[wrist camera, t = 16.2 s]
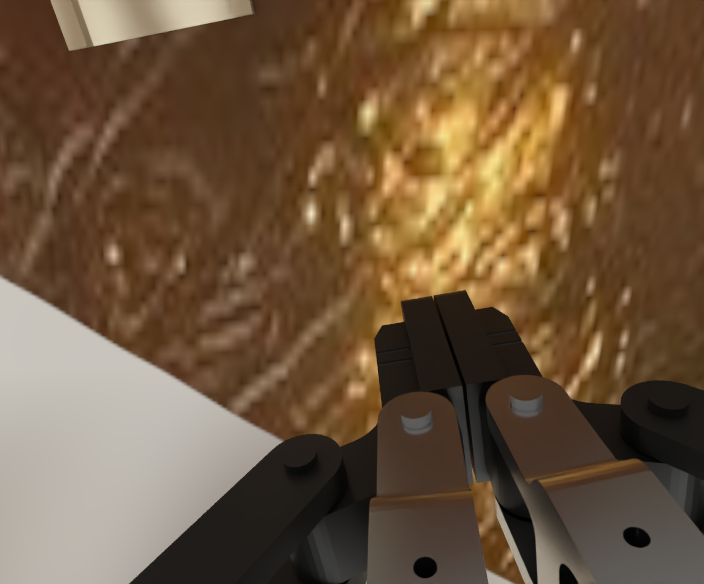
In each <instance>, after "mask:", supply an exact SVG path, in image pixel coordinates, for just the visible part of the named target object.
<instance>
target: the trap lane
mask: <svg viewBox="0 0 704 584" xmlns="http://www.w3.org/2000/svg"><path fill="white" fill-rule="evenodd" d="M51 3H52V5H53V8H54V11H55V14H56V16H57V19H58V22H59V24H60V27H61V30H62V33H63V35H64V38H65V41H66V43H67V46H68V49H69V51H70V50H78V49H83V48H88V47H93V46H98V45H103V44H108V43H113V42H118V41H123V40H127V39H132V38H137V37H142V36H147V35H152V34H157V33H162V32H167V31H172V30H177V29H182V28H187V27H192V26H197V25H202V24H207V23H212V22H217V21H221V20H226V19H231V18H236V17H241V16H246V15H251V14H255V12H254V7H253V3H252V0H51Z"/></svg>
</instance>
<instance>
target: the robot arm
mask: <svg viewBox="0 0 704 584" xmlns="http://www.w3.org/2000/svg"><path fill="white" fill-rule="evenodd" d="M401 307H402V313H403V319H404V322H401V323H395V324H389V325H383V326H382V327H381V328H380V330H379V332H378V334H377V335H376V337H375V339H374V340H375V349H376V357H377V365H378V375H379V384H380V392H381V401H382V409H381V411H380V413H379V415H378V423H377V425H376V426H375V427H374V428H373V429H372V430H371V431H370V432H369V433H368V434H366V435H365V436H363V437H362V438H360V439H358V440H356V441H354V442H351V443H349V444H346V445H344V446H341V447H339V445H338V444H337V443H336V442H335V441H334V440H333V439H331V438H329V437H327V436H323V435H318V434H306V435H300V436H296V437H293V438H290V439H288V440H286V441H284V442H282V443H281V444H279V445H278V446H276V447H275V448H274V449H273V450H272V451H271V452H270V453H268V455H266V456H265V457H264V458H263V459H262V460H261V461H260V462H259V463H258V464H257V465H256V466H255V467H253V468H252V469H251V470H250V471H249V472H248V473H247V474H246V475H245V476H244V477H243V478H242V479H241V480H240V481H238V482H237V483H236V484H235V485H234V486H233V487H232V488H231V489H230V490H229V491H228V492H227V493H226V494H225V495H224V496H222V497H221V498H220V499H219V500H218V501H217V502H216V503H215V504H214V505H213V506H212V507H211V508H210V509H209V510H207V512H206V513H204V514H203V515H202V516H201V517H200V518H199V519H198V520H197V521H196V522H195V523H194V524H193V525H191V526H190V527H189V528H188V529H187V530H186V531H185V532H184V533H183V534H182V535H181V536H180V537H179V538H178V539H177V540H176V541H174V542H173V543H172V544H171V545H170V546H169V547H168V548H167V549H166V550H165V551H164V552H163V553H162V554H160V555H159V556H158V557H157V558H156V559H155V560H154V561H153V562H152V563H151V564H150V565H149V566H148V567H147V568H146V569H144V570H143V571H142V572H141V573H140V574H139V575H138V576H137V577H136V578H135V579H134V580H133V581H132V582H131V583H129V584H365V583H366V581H367V584H488V579H487V573H486V568H485V562H484V557H483V551H482V546H481V540H480V535H479V529H478V524H477V518H476V513H475V507H474V502H473V497H472V492H471V489H469V484H473V475H472V468H473V471H474V475H475V478H476V481H477V483H478V482H485V481H491V484H492V487H493V490H494V495H495V505H496V514H497V517H498V520H499V522H500V525H501V527H502V529H503V532H504V534H505V537H506V539H507V541H508V544H509V546H510V548H511V551H512V553H513V556H514V558H515V560H516V563H517V565H518V567H519V570H520V572H521V575H522V577H523V579H524V582H525V584H704V391H703V390H700V389H697V388H694V387H691V386H688V385H685V384H681V383H677V382H672V381H646V382H641V383H638V384H635V385H633V386H631V387H630V388H628V389H627V390H626V391H625V392H624V393H623V395H622V397H621V405H613V404H595V403H585V402H580V401H576V400H572V399H571V398H570V397H569V396H568V394H567V393H566V392H565V390H564V389H563V388H562V387H561V386H560V385H558V384H557V383H555V382H554V381H552V380H549V379H547V378H544V377H542V375H541V373H540V372H539V370H538V368H537V366H536V365H535V363H534V361H533V359H532V358H531V356H530V354H529V352H528V351H527V349H526V347H525V345H524V344H523V342H522V341H521V338H520V337H519V335H518V333H517V332H516V331H515V328H514V326H513V324H512V323H511V321H510V319H509V317H508V316H507V315H505V314H503V313H502V312H500V311H498V310H497V309H495V308H493V307H489V308H483V309H477V310H475V309H474V307H473V304H472V302H471V300H470V298H469V296H468V294H467V292H466V290H463V291H457V292H451V293H445V294H440V295H434V301H433V298H432V296H429V297H423V298H417V299H411V300H405V301H401ZM471 465H472V466H471Z"/></svg>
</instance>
